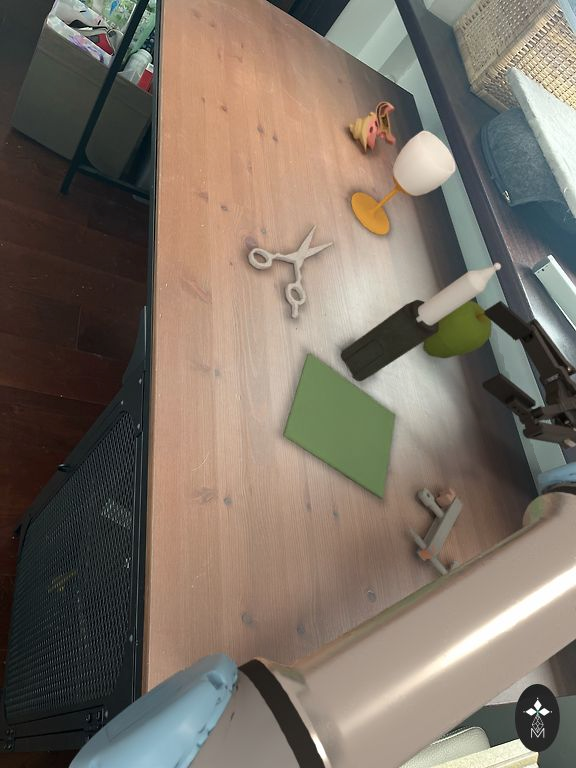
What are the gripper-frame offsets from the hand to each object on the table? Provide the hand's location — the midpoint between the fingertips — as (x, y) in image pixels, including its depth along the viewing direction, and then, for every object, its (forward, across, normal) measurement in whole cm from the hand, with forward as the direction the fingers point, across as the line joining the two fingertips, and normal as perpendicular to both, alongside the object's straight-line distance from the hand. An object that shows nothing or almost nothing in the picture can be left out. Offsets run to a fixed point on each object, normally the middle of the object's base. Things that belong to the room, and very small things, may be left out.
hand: (491, 341), depth 79 cm
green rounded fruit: (-5, +14, -17) cm, 22 cm away
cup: (+12, +35, -17) cm, 41 cm away
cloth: (+8, -11, -17) cm, 22 cm away
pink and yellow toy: (+17, +55, -17) cm, 60 cm away
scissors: (+22, +11, -17) cm, 30 cm away
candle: (+8, 0, -17) cm, 19 cm away
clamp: (-8, -19, -17) cm, 27 cm away
